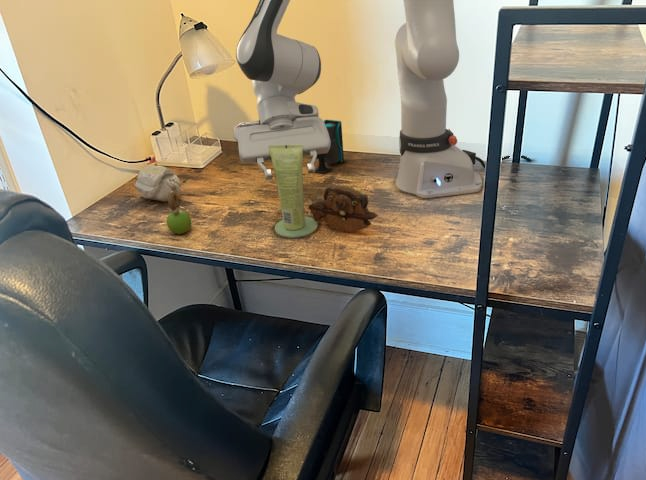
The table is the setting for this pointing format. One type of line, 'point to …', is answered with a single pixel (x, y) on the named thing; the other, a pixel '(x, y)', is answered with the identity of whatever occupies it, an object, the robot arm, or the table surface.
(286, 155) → the tube
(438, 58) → the robot arm
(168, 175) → the fossil replica
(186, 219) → the green bulbous piece
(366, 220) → the wooden carving
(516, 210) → the table surface
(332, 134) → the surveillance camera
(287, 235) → the coaster
